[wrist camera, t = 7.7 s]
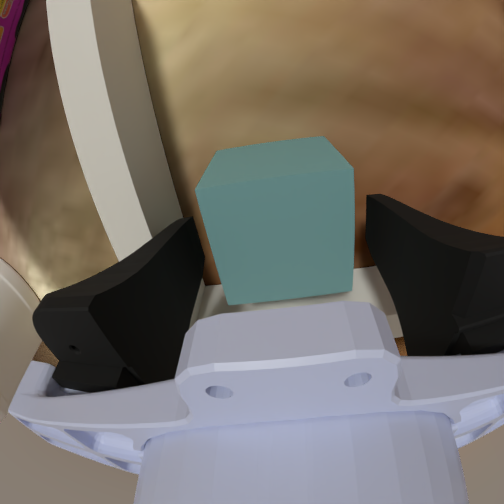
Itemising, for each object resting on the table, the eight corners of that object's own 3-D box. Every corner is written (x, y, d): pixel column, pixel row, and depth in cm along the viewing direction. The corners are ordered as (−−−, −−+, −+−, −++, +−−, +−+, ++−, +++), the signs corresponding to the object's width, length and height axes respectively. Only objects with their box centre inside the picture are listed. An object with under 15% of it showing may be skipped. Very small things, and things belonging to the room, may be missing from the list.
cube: (323, 135, 13) (353, 168, 8) (329, 228, 15) (352, 290, 11) (217, 150, 13) (194, 189, 9) (237, 240, 16) (228, 305, 12)
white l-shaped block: (399, -48, 6) (437, -73, 3) (409, 285, 17) (432, 329, 14) (92, -6, 8) (45, -18, 5) (184, 311, 19) (171, 359, 16)
